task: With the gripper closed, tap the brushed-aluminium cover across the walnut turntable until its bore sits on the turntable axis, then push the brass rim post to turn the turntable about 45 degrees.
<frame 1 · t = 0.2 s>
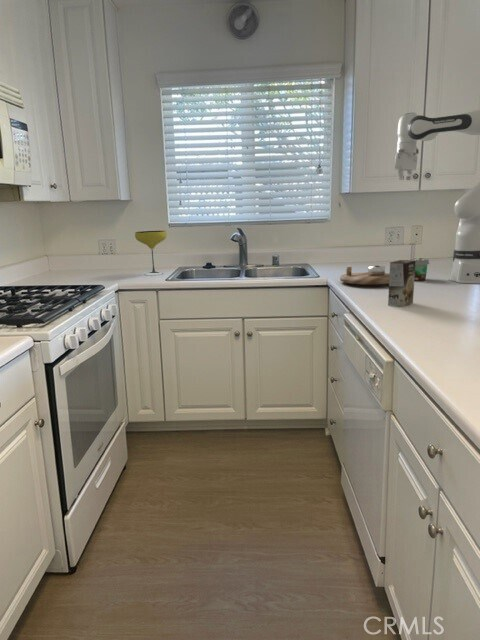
hand: (404, 180, 229), 47 cm above the countertop, fingers open, 8 cm apart
coffee box: (400, 304, 177), on the countertop
turntable base: (370, 282, 224), on the countertop
cocktail glass: (154, 274, 280), on the countertop
turntable: (370, 273, 223), point 4 cm above the countertop, hinge at 0.0°, touching cover
cover: (376, 274, 229), point 3 cm above the countertop, touching turntable
food container: (421, 280, 227), on the countertop
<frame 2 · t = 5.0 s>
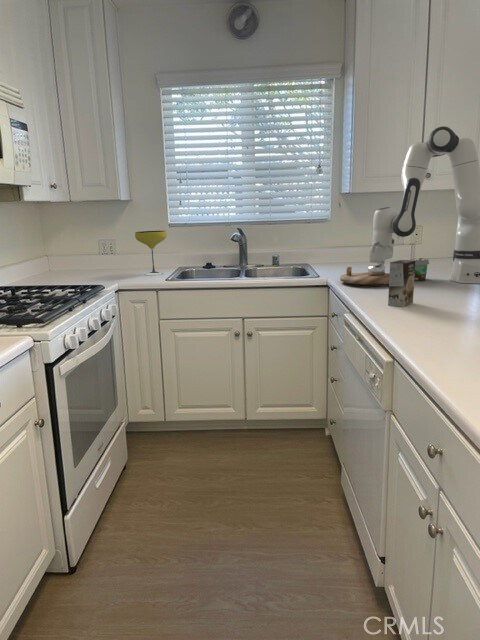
hand: (380, 269, 233), 5 cm above the countertop, fingers closed
turntable: (370, 273, 223), point 4 cm above the countertop, hinge at 0.0°
cover: (376, 274, 229), point 3 cm above the countertop, touching gripper
everything else where it was.
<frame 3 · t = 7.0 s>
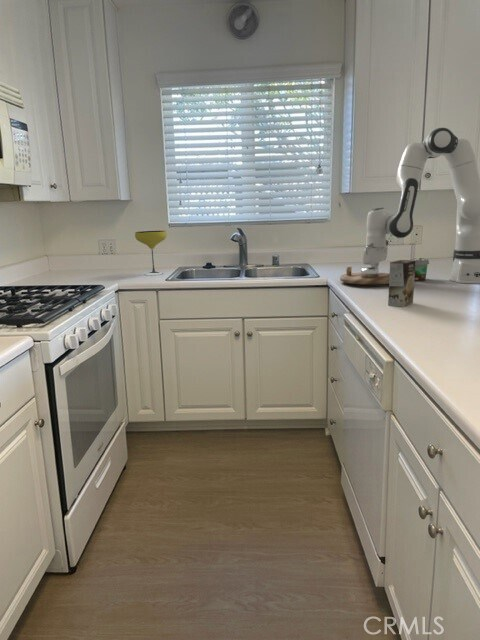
hand: (374, 271, 227), 5 cm above the countertop, fingers closed
turntable: (370, 273, 223), point 4 cm above the countertop, hinge at 0.0°, touching cover
cover: (369, 276, 223), point 3 cm above the countertop, touching gripper, turntable
everything else where it was.
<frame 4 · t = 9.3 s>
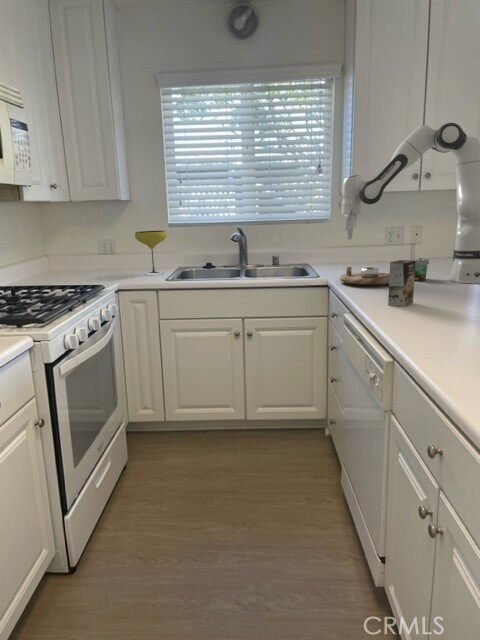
hand: (349, 239, 232), 20 cm above the countertop, fingers closed
cover: (369, 276, 223), point 3 cm above the countertop, touching turntable
everything else where it was.
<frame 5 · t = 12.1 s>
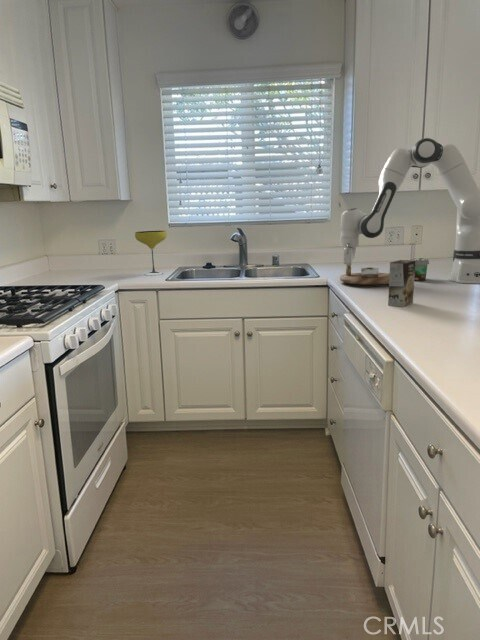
hand: (348, 271, 232), 5 cm above the countertop, fingers closed
turntable: (370, 273, 223), point 4 cm above the countertop, hinge at 3.0°, touching cover, gripper
everything else where it was.
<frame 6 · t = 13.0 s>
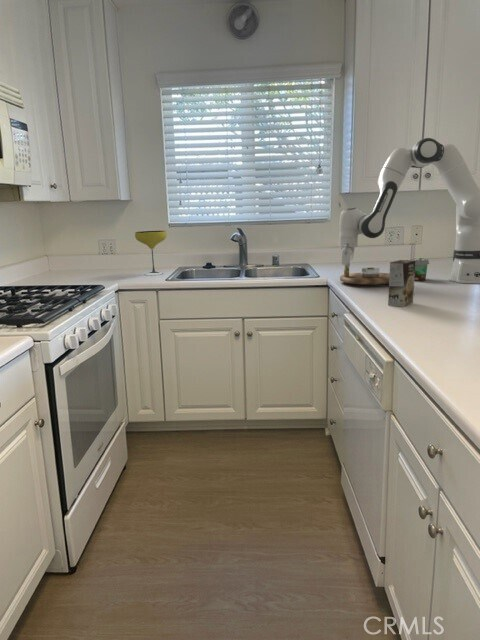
hand: (346, 271, 227), 5 cm above the countertop, fingers closed
turntable: (370, 273, 223), point 4 cm above the countertop, hinge at 28.0°, touching cover, gripper
everything else where it was.
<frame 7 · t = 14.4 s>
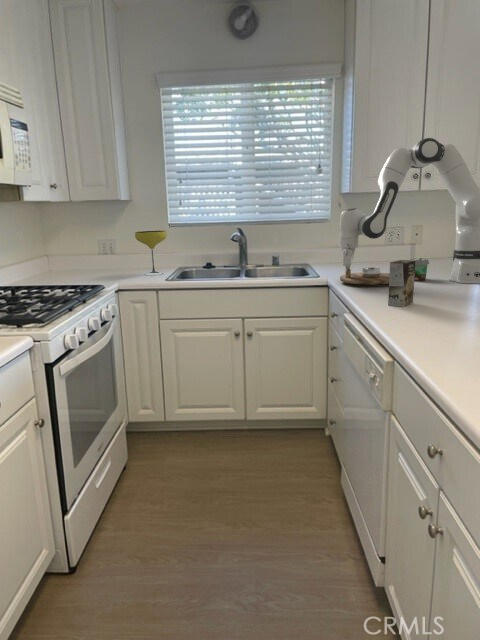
hand: (347, 273, 224), 5 cm above the countertop, fingers closed
turntable: (370, 273, 223), point 4 cm above the countertop, hinge at 45.7°, touching cover
everything else where it was.
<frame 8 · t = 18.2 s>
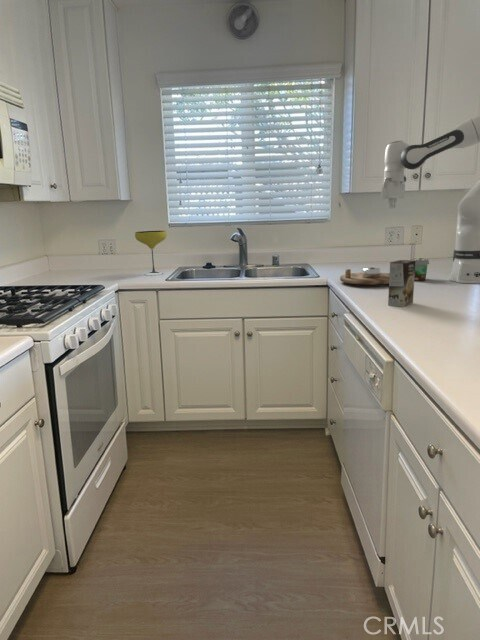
hand: (392, 208, 224), 34 cm above the countertop, fingers closed
nothing on the countertop moved.
at the end: cover 0.8 cm from the turntable (horizontally); turntable at +46° (first picture: +0°); cover tilted 0° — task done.
